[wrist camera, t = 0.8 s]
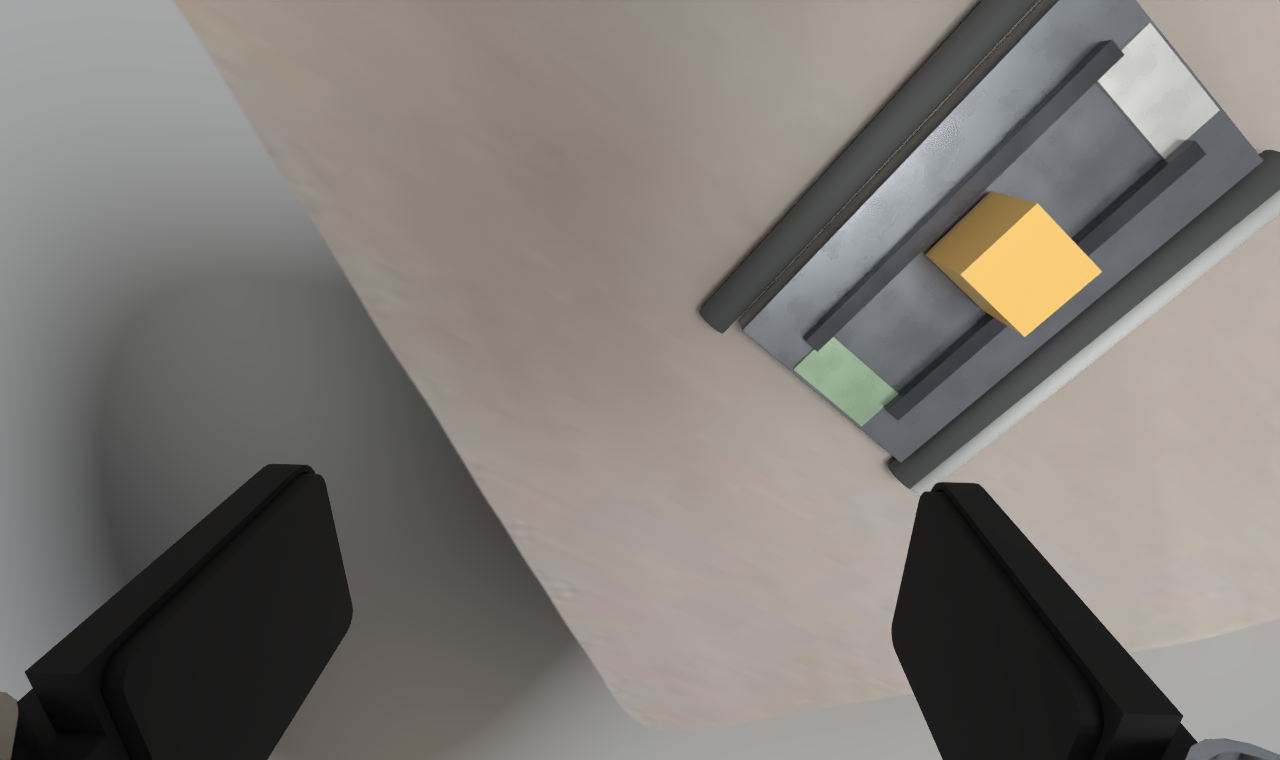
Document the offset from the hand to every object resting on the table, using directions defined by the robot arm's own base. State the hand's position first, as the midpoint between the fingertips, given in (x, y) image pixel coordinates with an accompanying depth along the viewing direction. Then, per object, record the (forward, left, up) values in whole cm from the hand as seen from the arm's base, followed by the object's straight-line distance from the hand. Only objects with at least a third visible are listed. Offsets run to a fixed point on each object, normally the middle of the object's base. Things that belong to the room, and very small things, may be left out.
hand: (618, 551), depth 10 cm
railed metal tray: (-11, +15, -29) cm, 34 cm away
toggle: (-11, +15, -27) cm, 32 cm away
